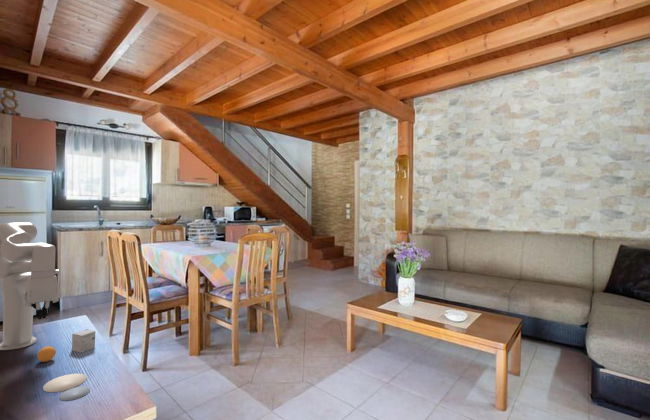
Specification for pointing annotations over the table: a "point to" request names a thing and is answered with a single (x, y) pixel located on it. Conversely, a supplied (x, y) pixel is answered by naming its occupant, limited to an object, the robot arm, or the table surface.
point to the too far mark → (74, 393)
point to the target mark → (64, 382)
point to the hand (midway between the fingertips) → (41, 317)
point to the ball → (46, 354)
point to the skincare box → (83, 340)
